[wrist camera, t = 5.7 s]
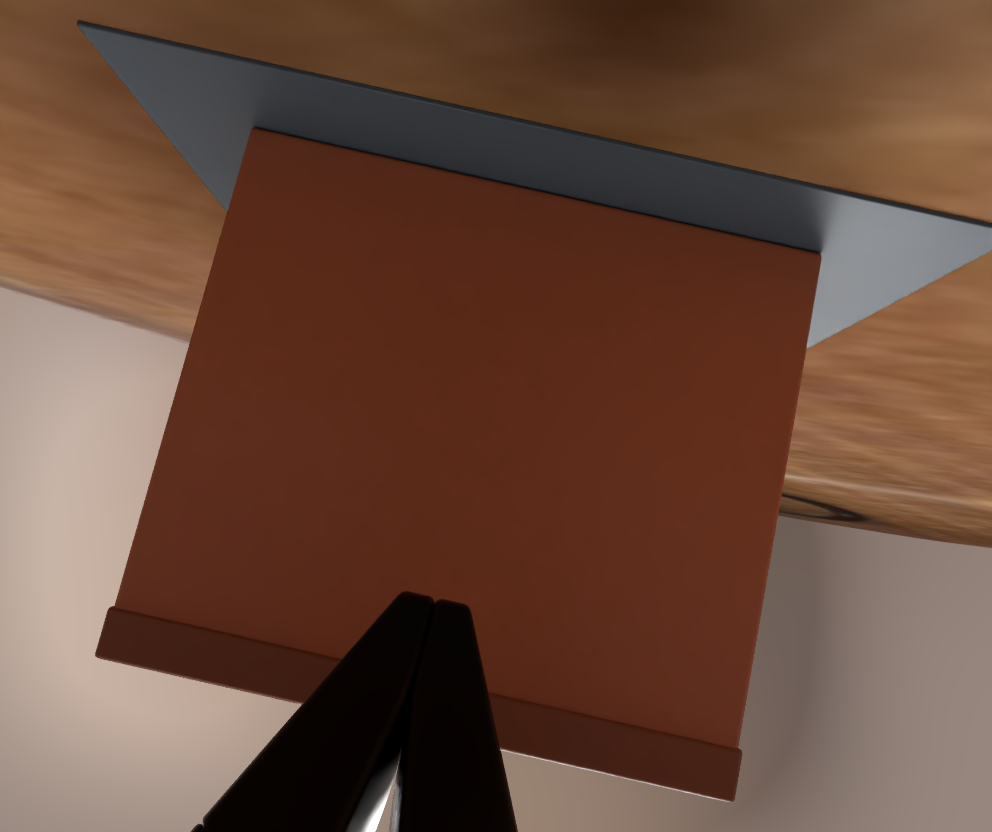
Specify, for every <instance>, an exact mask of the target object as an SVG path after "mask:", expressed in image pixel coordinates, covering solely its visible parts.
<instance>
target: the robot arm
mask: <svg viewBox="0 0 992 832" xmlns="http://www.w3.org/2000/svg"><path fill="white" fill-rule="evenodd" d="M434 604H435V605H434ZM398 762H399V764H398ZM397 766H398V770H397ZM396 770H397V775H396V781H395V788H394V794H393V803H392V811H391V818H390V828H389V832H518V830H517V825H516V820H515V816H514V811H513V807H512V801H511V797H510V792H509V787H508V783H507V778H506V773H505V768H504V764H503V759H502V754H501V750H500V745H499V740H498V735H497V731H496V726H495V721H494V716H493V712H492V707H491V702H490V698H489V693H488V688H487V683H486V679H485V674H484V669H483V664H482V660H481V655H480V650H479V646H478V641H477V636H476V631H475V627H474V622H473V617H472V613H471V610H470V608H469V606H468V605H466V604H464V603H459V602H455V601H450V600H446V599H439V600H437V601H436V602H435V601H434V599H433V598H432V597H431V596H428V595H424V594H419V593H415V592H410V591H403V592H401V593H400V594H399V595H397V596H396V598H395V599H394V600H393V601H392V602H391V603H390V604H389V606H388V607H387V608H386V609H385V610H384V611H383V612H382V614H381V615H380V616H379V617H378V618H377V619H376V620H375V622H374V623H373V624H372V625H371V626H370V627H369V629H368V630H367V631H366V632H365V633H364V634H363V635H362V637H361V638H360V639H359V640H358V641H357V642H356V643H355V645H354V646H353V647H352V648H351V649H350V650H349V651H348V653H347V654H346V655H345V656H344V657H343V658H342V659H341V661H340V662H339V663H338V664H337V665H336V666H335V667H334V669H333V670H332V671H331V672H330V673H329V674H328V675H327V677H326V678H325V679H324V680H323V681H322V682H321V683H320V685H319V686H318V687H317V688H316V689H315V690H314V691H313V693H312V694H311V695H310V696H309V697H308V698H307V700H306V701H305V702H304V703H303V704H302V705H301V707H300V708H299V709H298V710H297V711H296V712H295V713H294V714H293V716H292V717H291V718H290V719H289V720H288V721H287V722H286V724H285V725H284V726H283V727H282V728H281V729H280V730H279V732H278V733H277V734H276V735H275V736H274V737H273V738H272V740H271V741H270V742H269V743H268V744H267V745H266V747H265V748H264V749H263V750H262V751H261V752H260V753H259V754H258V756H257V757H256V758H255V759H254V760H253V761H252V763H251V764H250V765H249V766H248V767H247V768H246V769H245V771H244V772H243V773H242V774H241V775H240V776H239V777H238V779H237V780H236V781H235V782H234V783H233V784H232V785H231V787H230V788H229V789H228V790H227V791H226V792H225V793H224V795H223V796H222V797H221V798H220V799H219V800H218V801H217V803H216V804H215V805H214V806H213V807H212V808H211V809H210V811H209V812H208V813H207V814H206V815H205V816H204V818H203V825H202V824H198V825H196V826H195V827H194V828H193V830H192V831H191V832H375V831H376V828H377V825H378V822H379V819H380V817H381V814H382V811H383V809H384V806H385V803H386V801H387V798H388V795H389V792H390V789H391V786H392V783H393V780H394V777H395V773H396Z"/></svg>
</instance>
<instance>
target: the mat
mask: <svg viewBox="0 0 992 832" xmlns="http://www.w3.org/2000/svg"><path fill="white" fill-rule="evenodd" d="M77 26H78V27H79V28H80V30H81V31H82V32H83V33H84V34H85V36H86V37H87V38H88V39H89V41H90V42H91V43H92V44H93V46H94V47H95V48H96V49H97V51H98V52H99V53H100V54H101V56H102V57H103V58H104V59H105V61H106V62H107V63H108V64H109V66H110V67H111V68H112V69H113V71H114V72H115V73H116V74H117V76H118V77H119V78H120V79H121V81H122V82H123V83H124V84H125V86H126V87H127V88H128V89H129V91H130V92H131V93H132V94H133V96H134V97H135V98H136V99H137V100H138V102H139V103H140V104H141V105H142V107H143V108H144V109H145V110H146V112H147V113H148V114H149V115H150V117H151V118H152V119H153V120H154V122H155V123H156V124H157V125H158V127H159V128H160V129H161V130H162V132H163V133H164V134H165V135H166V137H167V138H168V139H169V140H170V142H171V143H172V144H173V145H174V147H175V148H176V149H177V150H178V152H179V153H180V154H181V155H182V157H183V158H184V159H185V160H186V162H187V163H188V164H189V165H190V167H191V168H192V169H193V170H194V171H195V173H196V174H197V175H198V176H199V178H200V179H201V180H202V181H203V183H204V184H205V185H206V186H207V188H208V189H209V190H210V191H211V193H212V194H213V195H214V196H215V198H216V199H217V200H218V201H219V203H220V204H221V205H222V206H223V208H224V209H225V210H226V211H228V208H229V204H230V201H231V197H232V194H233V190H234V187H235V183H236V180H237V176H238V173H239V169H240V166H241V162H242V159H243V155H244V152H245V148H246V145H247V141H248V138H249V134H250V131H251V130H252V128H257V129H262V130H266V131H271V132H275V133H280V134H284V135H289V136H293V137H298V138H302V139H307V140H311V141H316V142H320V143H325V144H329V145H334V146H338V147H343V148H347V149H352V150H356V151H360V152H365V153H369V154H374V155H378V156H383V157H387V158H392V159H396V160H401V161H405V162H410V163H414V164H419V165H423V166H428V167H432V168H437V169H441V170H446V171H450V172H455V173H459V174H464V175H468V176H473V177H477V178H482V179H486V180H491V181H495V182H500V183H504V184H509V185H513V186H518V187H522V188H527V189H531V190H536V191H540V192H545V193H549V194H554V195H558V196H563V197H567V198H572V199H576V200H580V201H585V202H589V203H594V204H598V205H603V206H607V207H612V208H616V209H621V210H625V211H630V212H634V213H639V214H643V215H648V216H652V217H657V218H661V219H666V220H670V221H675V222H679V223H684V224H688V225H693V226H697V227H702V228H706V229H711V230H715V231H720V232H724V233H729V234H733V235H738V236H742V237H747V238H751V239H756V240H760V241H765V242H769V243H774V244H778V245H783V246H787V247H791V248H796V249H800V250H805V251H809V252H814V253H818V254H820V255H821V257H822V260H821V266H820V272H819V278H818V284H817V289H816V295H815V301H814V307H813V313H812V319H811V325H810V330H809V336H808V342H807V348H809V347H811V346H813V345H815V344H817V343H819V342H821V341H822V340H824V339H826V338H828V337H830V336H832V335H834V334H836V333H837V332H839V331H841V330H843V329H845V328H847V327H849V326H851V325H853V324H854V323H856V322H858V321H860V320H862V319H864V318H866V317H868V316H869V315H871V314H873V313H875V312H877V311H879V310H881V309H883V308H885V307H886V306H888V305H890V304H892V303H894V302H896V301H898V300H900V299H901V298H903V297H905V296H907V295H909V294H911V293H913V292H915V291H917V290H918V289H920V288H922V287H924V286H926V285H928V284H930V283H932V282H933V281H935V280H937V279H939V278H941V277H943V276H945V275H947V274H949V273H950V272H952V271H954V270H956V269H958V268H960V267H962V266H964V265H965V264H967V263H969V262H971V261H973V260H975V259H977V258H979V257H981V256H982V255H984V254H986V253H988V252H990V251H992V223H987V222H983V221H978V220H974V219H969V218H965V217H960V216H956V215H951V214H947V213H942V212H938V211H933V210H929V209H924V208H920V207H915V206H911V205H906V204H902V203H897V202H893V201H888V200H884V199H879V198H875V197H870V196H866V195H861V194H857V193H852V192H848V191H843V190H839V189H834V188H830V187H825V186H821V185H816V184H812V183H807V182H803V181H798V180H794V179H789V178H785V177H780V176H776V175H771V174H767V173H762V172H758V171H753V170H749V169H744V168H740V167H735V166H731V165H726V164H722V163H717V162H713V161H708V160H704V159H699V158H695V157H690V156H686V155H681V154H677V153H672V152H668V151H663V150H659V149H654V148H650V147H645V146H641V145H636V144H632V143H627V142H623V141H618V140H614V139H609V138H605V137H600V136H596V135H591V134H587V133H582V132H578V131H573V130H569V129H564V128H560V127H555V126H551V125H546V124H542V123H537V122H533V121H528V120H524V119H519V118H515V117H510V116H506V115H501V114H497V113H492V112H488V111H483V110H479V109H474V108H470V107H465V106H461V105H456V104H452V103H447V102H443V101H438V100H434V99H429V98H425V97H420V96H416V95H411V94H407V93H402V92H398V91H393V90H389V89H384V88H380V87H375V86H371V85H366V84H362V83H357V82H353V81H348V80H344V79H339V78H335V77H330V76H326V75H321V74H317V73H312V72H308V71H303V70H299V69H294V68H290V67H285V66H281V65H276V64H272V63H267V62H263V61H258V60H254V59H249V58H245V57H240V56H236V55H231V54H227V53H222V52H218V51H213V50H209V49H204V48H200V47H195V46H191V45H186V44H182V43H177V42H173V41H168V40H164V39H159V38H155V37H150V36H146V35H141V34H137V33H132V32H128V31H123V30H119V29H114V28H110V27H105V26H100V25H96V24H91V23H87V22H82V21H78V22H77ZM807 348H806V349H807Z"/></svg>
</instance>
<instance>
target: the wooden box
mask: <svg viewBox="0 0 992 832" xmlns="http://www.w3.org/2000/svg"><path fill="white" fill-rule="evenodd" d="M821 260H822V257H821V255H820V254H818V253H814V252H809V251H805V250H800V249H796V248H791V247H787V246H783V245H778V244H774V243H769V242H765V241H760V240H756V239H751V238H747V237H742V236H738V235H733V234H729V233H724V232H720V231H715V230H711V229H706V228H702V227H697V226H693V225H688V224H684V223H679V222H675V221H670V220H666V219H661V218H657V217H652V216H648V215H643V214H639V213H634V212H630V211H625V210H621V209H616V208H612V207H607V206H603V205H598V204H594V203H589V202H585V201H580V200H576V199H572V198H567V197H563V196H558V195H554V194H549V193H545V192H540V191H536V190H531V189H527V188H522V187H518V186H513V185H509V184H504V183H500V182H495V181H491V180H486V179H482V178H477V177H473V176H468V175H464V174H459V173H455V172H450V171H446V170H441V169H437V168H432V167H428V166H423V165H419V164H414V163H410V162H405V161H401V160H396V159H392V158H387V157H383V156H378V155H374V154H369V153H365V152H360V151H356V150H352V149H347V148H343V147H338V146H334V145H329V144H325V143H320V142H316V141H311V140H307V139H302V138H298V137H293V136H289V135H284V134H280V133H275V132H271V131H266V130H262V129H257V128H252V130H251V131H250V134H249V138H248V141H247V145H246V148H245V152H244V155H243V159H242V162H241V166H240V169H239V173H238V176H237V180H236V183H235V187H234V190H233V194H232V197H231V201H230V204H229V208H228V211H227V215H226V218H225V222H224V225H223V229H222V232H221V236H220V239H219V243H218V246H217V250H216V253H215V257H214V260H213V264H212V267H211V271H210V274H209V278H208V281H207V285H206V288H205V292H204V295H203V299H202V302H201V306H200V309H199V313H198V316H197V320H196V323H195V327H194V330H193V334H192V337H191V341H190V344H189V348H188V351H187V355H186V358H185V362H184V365H183V369H182V372H181V376H180V379H179V383H178V386H177V390H176V393H175V397H174V400H173V404H172V407H171V411H170V414H169V418H168V421H167V425H166V428H165V431H164V435H163V438H162V442H161V445H160V449H159V452H158V456H157V459H156V463H155V466H154V470H153V473H152V477H151V480H150V484H149V487H148V491H147V495H146V498H145V501H144V505H143V508H142V512H141V515H140V519H139V523H138V526H137V529H136V533H135V536H134V540H133V543H132V547H131V551H130V554H129V557H128V561H127V564H126V568H125V571H124V575H123V578H122V582H121V585H120V589H119V593H118V596H117V599H116V603H115V606H112V607H110V608H109V609H108V611H107V615H106V618H105V622H104V625H103V629H102V632H101V636H100V639H99V643H98V647H97V650H96V653H95V656H96V657H97V658H100V659H104V660H108V661H113V662H117V663H122V664H126V665H130V666H135V667H139V668H144V669H148V670H153V671H157V672H161V673H166V674H170V675H174V676H179V677H183V678H187V679H192V680H197V681H200V682H205V683H209V684H214V685H218V686H222V687H227V688H231V689H236V690H240V691H244V692H249V693H253V694H258V695H262V696H266V697H271V698H275V699H280V700H284V701H288V702H293V703H297V704H301V705H302V704H303V703H304V702H305V701H306V700H307V698H308V697H309V696H310V695H311V694H312V693H313V691H314V690H315V689H316V688H317V687H318V686H319V685H320V683H321V682H322V681H323V680H324V679H325V678H326V677H327V675H328V674H329V673H330V672H331V671H332V670H333V669H334V667H335V666H336V665H337V664H338V663H339V662H340V661H341V659H342V658H343V657H344V656H345V655H346V654H347V653H348V651H349V650H350V649H351V648H352V647H353V646H354V645H355V643H356V642H357V641H358V640H359V639H360V638H361V637H362V635H363V634H364V633H365V632H366V631H367V630H368V629H369V627H370V626H371V625H372V624H373V623H374V622H375V620H376V619H377V618H378V617H379V616H380V615H381V614H382V612H383V611H384V610H385V609H386V608H387V607H388V606H389V604H390V603H391V602H392V601H393V600H394V599H395V598H396V596H397V595H399V594H400V593H401V592H403V591H410V592H415V593H419V594H424V595H428V596H431V597H432V598H433V599H434V601H435V602H436V601H437V600H439V599H446V600H450V601H455V602H459V603H464V604H466V605H468V606H469V608H470V610H471V613H472V617H473V622H474V627H475V631H476V636H477V641H478V646H479V650H480V655H481V660H482V664H483V669H484V674H485V679H486V683H487V688H488V693H489V698H490V702H491V707H492V712H493V716H494V721H495V726H496V731H497V735H498V740H499V745H500V750H504V751H508V752H512V753H517V754H521V755H525V756H529V757H534V758H538V759H543V760H547V761H552V762H556V763H560V764H565V765H569V766H574V767H578V768H583V769H586V770H591V771H595V772H600V773H604V774H608V775H613V776H617V777H622V778H626V779H630V780H635V781H639V782H643V783H648V784H652V785H657V786H662V787H665V788H670V789H674V790H679V791H683V792H687V793H692V794H696V795H701V796H705V797H709V798H714V799H718V800H722V801H727V802H733V801H734V799H735V794H736V788H737V782H738V777H739V771H740V765H741V759H742V751H741V750H740V749H739V748H738V746H739V740H740V734H741V728H742V722H743V717H744V711H745V705H746V699H747V693H748V687H749V681H750V676H751V670H752V664H753V658H754V652H755V646H756V641H757V635H758V629H759V623H760V617H761V611H762V605H763V600H764V593H765V588H766V582H767V576H768V570H769V565H770V559H771V553H772V547H773V541H774V535H775V529H776V524H777V518H778V512H779V506H780V500H781V494H782V488H783V483H784V477H785V471H786V465H787V459H788V453H789V448H790V442H791V436H792V430H793V424H794V418H795V412H796V407H797V401H798V395H799V389H800V383H801V377H802V371H803V366H804V360H805V354H806V348H807V342H808V336H809V330H810V325H811V319H812V313H813V307H814V301H815V295H816V289H817V284H818V278H819V272H820V266H821ZM434 605H435V604H434Z"/></svg>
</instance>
